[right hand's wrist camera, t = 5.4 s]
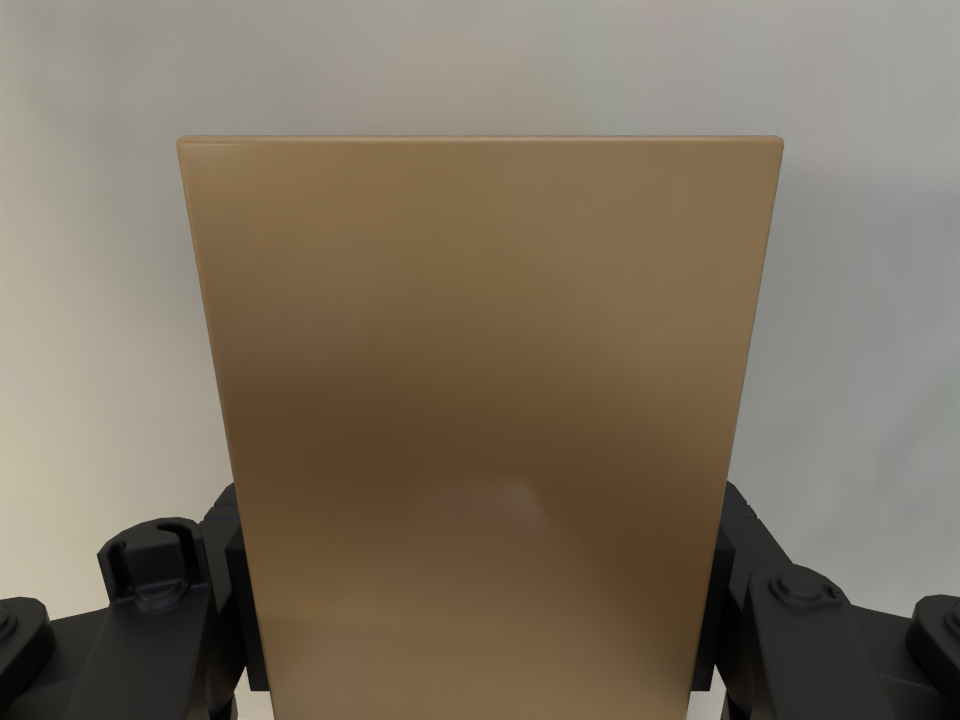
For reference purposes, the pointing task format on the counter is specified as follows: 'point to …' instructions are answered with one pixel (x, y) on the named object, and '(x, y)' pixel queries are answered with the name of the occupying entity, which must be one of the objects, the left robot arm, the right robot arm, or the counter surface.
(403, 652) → the beam
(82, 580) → the counter surface
